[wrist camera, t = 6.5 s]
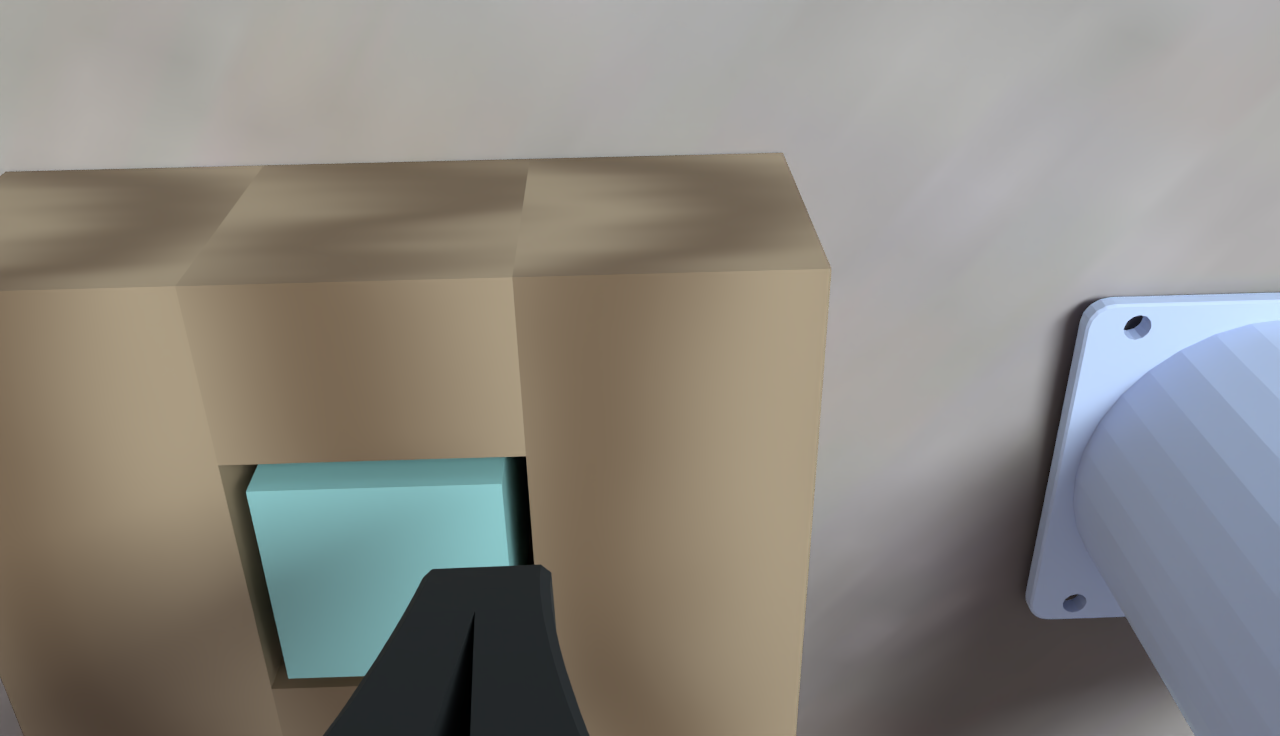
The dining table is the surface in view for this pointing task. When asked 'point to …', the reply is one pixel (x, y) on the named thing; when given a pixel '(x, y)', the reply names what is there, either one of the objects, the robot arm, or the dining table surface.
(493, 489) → the peg square
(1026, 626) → the dining table surface
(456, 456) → the socket block
